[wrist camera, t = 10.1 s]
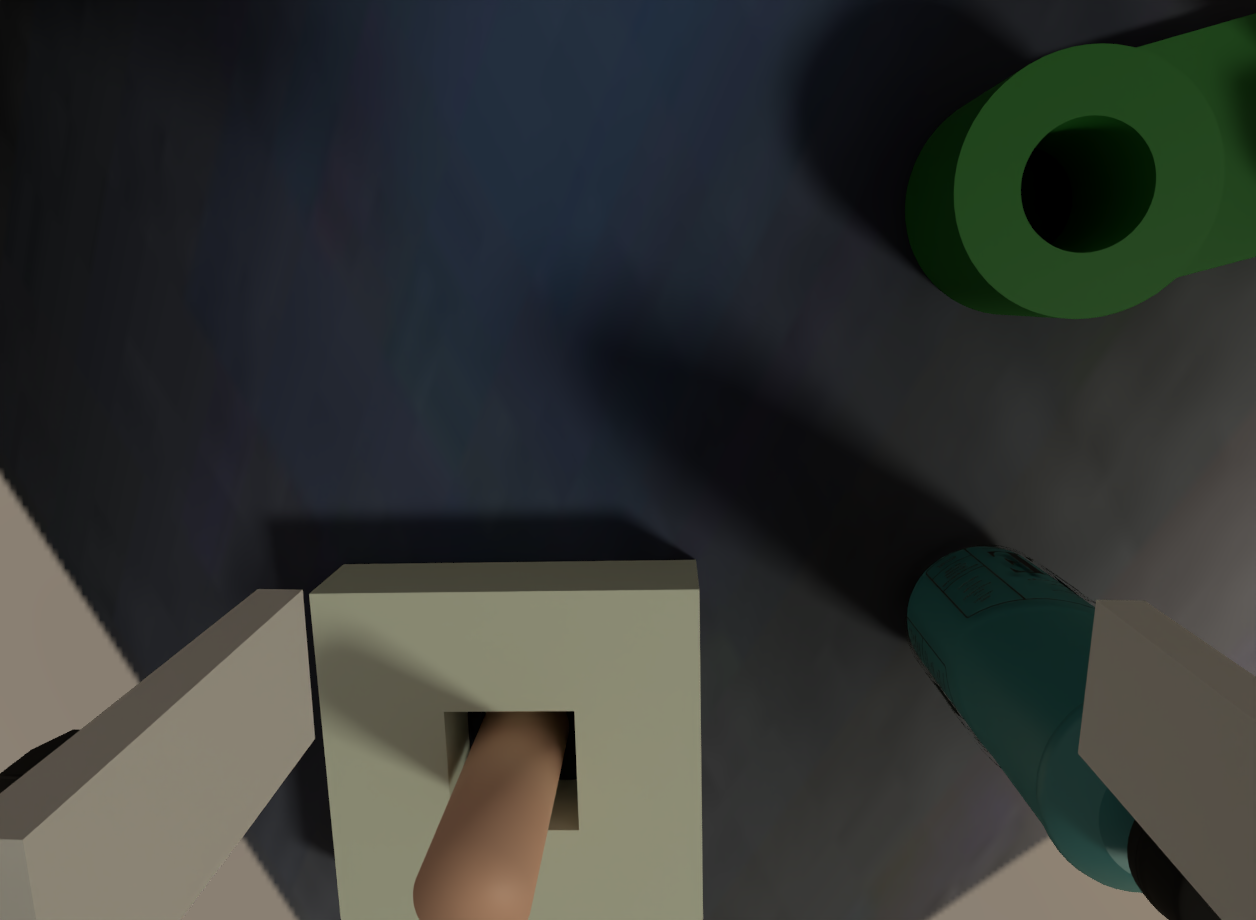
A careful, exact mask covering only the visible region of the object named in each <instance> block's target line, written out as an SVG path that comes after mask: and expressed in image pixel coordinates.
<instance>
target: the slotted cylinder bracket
mask: <svg viewBox="0 0 1256 920" xmlns="http://www.w3.org/2000/svg"><path fill="white" fill-rule="evenodd" d="M1034 148H1037V149H1040V150H1042V151H1045V152H1046V153H1048V154H1050V155H1051V156H1052V157H1054V158H1055V159H1056V160H1057V161H1058V162H1059V163H1060V164H1061V166H1062V167H1063V168H1064V170H1065V171H1066V173H1067V175H1068V178H1069V181H1070V184H1071V188H1072V208H1071V213H1070V216H1069V219H1068V222H1067V224H1066V226H1065V228H1064V229H1063V231H1062V233H1061V234H1060V235H1059V237H1058V238H1057V239H1056V240H1055V241H1054V242H1053V243H1052V244H1051V245H1050V244H1049V243H1047V242H1046V241H1044V240H1043V239H1042V238H1041V237H1040V236H1039V235H1038V234H1037V233H1036V232H1035V231H1034V230H1033V228H1032V227H1031V225H1030V224H1029V222H1028V220H1027V218H1026V216H1025V213H1024V210H1023V206H1022V201H1021V181H1022V175H1023V172H1024V168H1025V165H1026V163H1027V160H1028V158H1029V157H1030V155H1031V153H1032V151H1033V150H1034ZM905 222H906V228H907V234H908V238H909V242H910V245H911V248H912V251H913V253H914V256H915V258H916V260H917V261H918V263H919V265H920V267H921V268H922V270H923V271H924V273H925V274H926V276H927V277H928V278H929V279H930V280H931V282H932V283H933V284H934V285H935V286H936V287H937V288H938V289H940V290H941V291H942V292H943V293H944V294H946V295H947V296H948V297H950V298H951V299H953V300H955V301H956V302H958V303H960V304H962V305H964V306H966V307H969V308H971V309H974V310H978V311H981V312H985V313H991V314H1000V315H1017V316H1034V317H1050V318H1067V319H1085V318H1095V317H1101V316H1106V315H1110V314H1114V313H1117V312H1120V311H1123V310H1125V309H1128V308H1131V307H1133V306H1135V305H1137V304H1139V303H1141V302H1143V301H1145V300H1147V299H1148V298H1150V297H1152V296H1153V295H1155V294H1156V293H1158V292H1159V291H1161V290H1162V289H1163V288H1165V287H1166V286H1167V285H1168V284H1170V283H1171V282H1172V281H1173V280H1174V279H1175V278H1177V277H1181V276H1184V275H1188V274H1192V273H1196V272H1199V271H1203V270H1207V269H1211V268H1215V267H1218V266H1222V265H1226V264H1230V263H1234V262H1237V261H1241V260H1245V259H1249V258H1253V257H1256V13H1255V14H1251V15H1248V16H1244V17H1241V18H1237V19H1234V20H1231V21H1227V22H1224V23H1220V24H1217V25H1213V26H1210V27H1206V28H1203V29H1199V30H1196V31H1192V32H1189V33H1185V34H1182V35H1178V36H1175V37H1171V38H1168V39H1164V40H1161V41H1157V42H1154V43H1151V44H1147V45H1144V46H1140V47H1137V48H1135V47H1131V46H1125V45H1119V44H1104V43H1100V44H1086V45H1080V46H1075V47H1070V48H1067V49H1063V50H1060V51H1057V52H1054V53H1052V54H1049V55H1047V56H1044V57H1042V58H1040V59H1038V60H1037V61H1035V62H1033V63H1031V64H1029V65H1027V66H1026V67H1024V68H1023V69H1021V70H1020V71H1018V72H1016V73H1015V74H1013V75H1012V76H1010V77H1008V78H1007V79H1005V80H1004V81H1002V82H1001V83H999V84H997V85H996V86H994V87H993V88H991V89H989V90H988V91H986V92H985V93H983V94H982V95H980V96H978V97H977V98H975V99H974V100H972V101H970V102H969V103H967V104H966V105H964V106H963V107H961V108H960V109H958V110H957V111H955V112H954V113H953V114H952V115H951V116H949V117H948V118H947V119H946V120H945V121H944V122H943V123H942V124H941V125H940V126H939V127H938V128H937V129H936V130H935V131H934V133H933V134H932V135H931V136H930V138H929V139H928V141H927V142H926V144H925V145H924V147H923V148H922V150H921V152H920V154H919V156H918V158H917V160H916V162H915V164H914V167H913V169H912V172H911V175H910V179H909V182H908V187H907V193H906V201H905Z"/></svg>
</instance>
